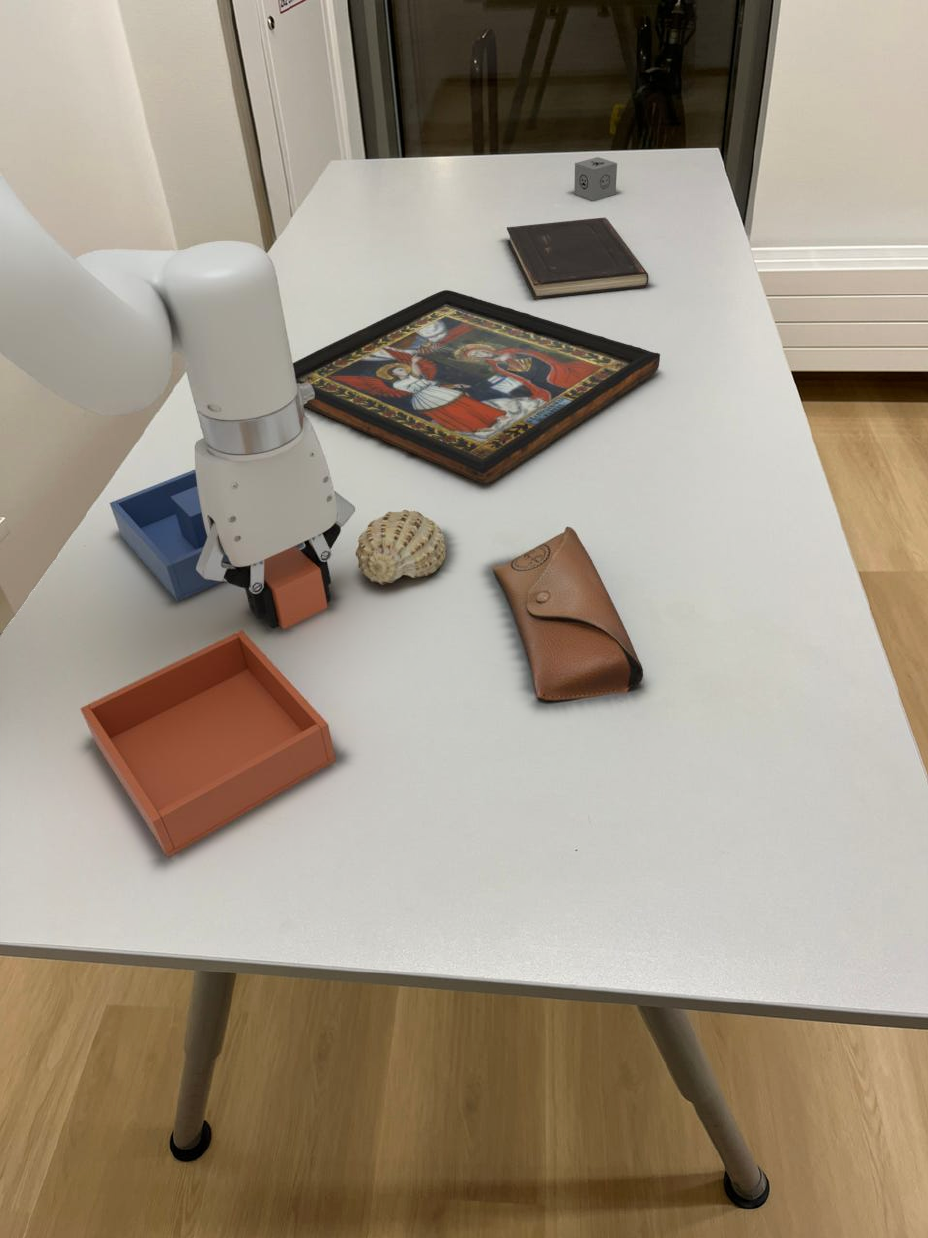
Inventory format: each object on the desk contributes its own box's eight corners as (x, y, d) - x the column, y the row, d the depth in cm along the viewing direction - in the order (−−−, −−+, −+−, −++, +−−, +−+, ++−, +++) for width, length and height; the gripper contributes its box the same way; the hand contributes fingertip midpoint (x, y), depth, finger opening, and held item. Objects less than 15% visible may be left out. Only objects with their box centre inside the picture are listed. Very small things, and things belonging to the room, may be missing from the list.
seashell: (368, 566, 92) (353, 591, 82) (363, 504, 90) (347, 522, 80) (448, 563, 91) (443, 588, 82) (445, 501, 90) (439, 518, 80)
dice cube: (592, 200, 161) (593, 169, 157) (574, 193, 164) (574, 162, 161) (615, 194, 163) (617, 162, 159) (596, 187, 166) (597, 156, 163)
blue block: (201, 555, 89) (190, 516, 86) (181, 534, 91) (170, 496, 89) (243, 537, 91) (233, 498, 88) (223, 517, 93) (212, 479, 91)
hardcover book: (534, 299, 131) (534, 283, 129) (507, 242, 148) (506, 226, 147) (648, 287, 132) (649, 270, 130) (607, 231, 149) (608, 216, 148)
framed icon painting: (243, 407, 111) (238, 384, 110) (425, 301, 132) (424, 280, 130) (514, 501, 94) (513, 476, 92) (675, 361, 114) (677, 338, 113)
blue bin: (178, 602, 84) (166, 566, 82) (121, 536, 93) (109, 502, 90) (306, 543, 90) (299, 508, 88) (242, 486, 98) (234, 453, 96)
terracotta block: (283, 630, 81) (274, 590, 78) (259, 605, 84) (249, 565, 81) (328, 608, 83) (320, 568, 80) (303, 584, 85) (294, 545, 83)
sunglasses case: (485, 564, 85) (521, 505, 82) (550, 584, 88) (587, 528, 85) (537, 705, 72) (583, 641, 68) (612, 723, 75) (659, 662, 71)
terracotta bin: (168, 858, 64) (152, 822, 61) (96, 744, 72) (79, 708, 69) (336, 761, 69) (328, 724, 67) (252, 666, 78) (241, 629, 75)
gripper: (322, 366, 77) (352, 548, 89) (125, 438, 70) (186, 625, 82) (373, 399, 72) (397, 586, 84) (167, 480, 65) (225, 672, 77)
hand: (293, 603), depth 83 cm, fingers closed on terracotta block, 4 cm apart
